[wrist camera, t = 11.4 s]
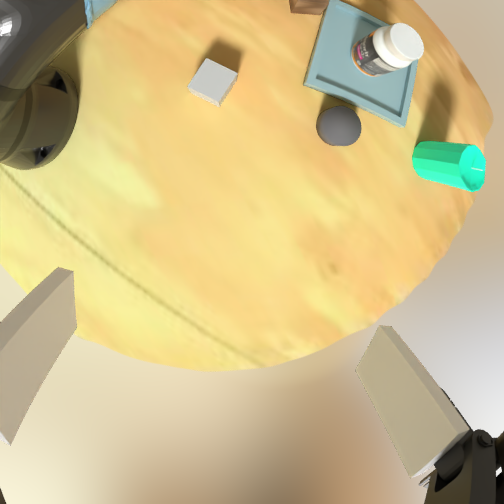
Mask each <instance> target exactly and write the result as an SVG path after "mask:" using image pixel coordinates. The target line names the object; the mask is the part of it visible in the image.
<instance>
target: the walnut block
mask: <svg viewBox="0 0 504 504" xmlns="http://www.w3.org/2000/svg"><path fill="white" fill-rule="evenodd" d="M289 3H290V9H291V13H299V14H312V15H320V14H321V13H322V12H323V11H324V9H325V8H326V7H327V6H328V5H329V2H328V0H289Z"/></svg>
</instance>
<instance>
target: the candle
mask: <svg viewBox="0 0 504 504" xmlns="http://www.w3.org/2000/svg"><path fill="white" fill-rule="evenodd" d="M412 160H413V167H414V169H415V171H416V172H417V174H418V176H420V177H422V178H424V179H427V180H431V181H435V182H439V183H443V184H446V185H450V186H454V187H457V188H461V189H464V190H467V191H471V192H474V191H478V190H479V189H480V188H481V186H482V185H483V184H484V178H485V164H486V160H485V158H484V156H483V154H482V152H481V151H480V149H479V148H478V147H477V146H476V145H470V144H461V143H450V142H437V141H423V142H420V143H419V144H418V145H417V146H416V147H415V148H414V152H413V156H412Z"/></svg>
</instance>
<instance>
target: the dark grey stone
mask: <svg viewBox="0 0 504 504" xmlns="http://www.w3.org/2000/svg"><path fill="white" fill-rule="evenodd" d="M316 129H317V133H318V135H319V136H320V138H321V139H322V140H323V141H324V142H325V143H327V144H329V145H333V146H348V145H351V144H353V143H354V142H356V141H357V139H358V138H359V136H360V133H361V122H360V119H359V117H358V116H357V114H356V113H355V112H354V111H353V110H351V109H350V108H348V107H345V106H336V107H333V108H330V109H327V110H325V111H323V112H322V113H321V114H320V115H319V117H318V119H317V122H316Z"/></svg>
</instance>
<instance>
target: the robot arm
mask: <svg viewBox="0 0 504 504" xmlns="http://www.w3.org/2000/svg"><path fill="white" fill-rule="evenodd" d="M117 1H118V0H0V163H2V164H5V165H8V166H10V167H13V168H16V169H20V170H29V169H34V168H39V167H42V166H44V165H46V164H48V163H49V162H51V161H52V160H53V159H55V158H56V157H57V156H58V154H59V153H60V152H61V151H62V150H63V148H64V147H65V145H66V144H67V142H68V140H69V138H70V136H71V134H72V131H73V128H74V125H75V122H76V117H77V110H78V97H77V91H76V88H75V85H74V83H73V81H72V79H71V78H70V77H69V75H68V74H66V73H65V72H64V71H62V70H60V69H57V68H54V67H51V66H48V65H49V64H50V63H51V62H52V61H53V60H54V59H55V58H56V57H57V56H58V55H59V54H60V53H61V52H62V51H63V50H64V49H65V48H66V47H67V46H68V45H69V44H70V43H71V42H72V41H73V40H74V39H75V38H76V37H78V36H79V35H80V34H81V33H82V32H83V31H84V30H85V29H89V28H90V27H91V26H92V23H93V22H94V21H95V20H96V19H97V18H98V17H100V16H101V15H102V14H103V13H104V12H105V11H107V10H108V9H109V8H110V7H111V6H113V5H114V4H115V3H116V2H117ZM76 328H77V322H76V311H75V297H74V273H73V271H70V270H67V269H63V268H59V267H58V268H57V269H55V270H54V271H53V272H52V273H51V274H50V275H49V276H48V277H46V278H45V279H44V280H43V281H42V282H41V283H40V284H39V285H38V286H37V287H36V288H35V289H33V290H32V291H31V292H30V293H29V294H28V295H27V296H26V297H25V298H24V299H23V300H22V301H21V302H20V303H19V304H18V305H17V306H16V307H15V308H14V309H13V310H12V311H11V312H10V313H9V314H8V315H7V316H6V317H5V318H4V319H3V320H2V322H0V440H2V441H3V442H5V443H7V444H8V445H10V446H11V443H12V441H13V439H14V437H15V435H16V433H17V431H18V429H19V427H20V425H21V422H22V420H23V418H24V417H25V414H26V413H27V411H28V409H29V407H30V405H31V403H32V401H33V399H34V397H35V396H36V394H37V392H38V390H39V388H40V387H41V385H42V383H43V381H44V380H45V378H46V376H47V375H48V373H49V371H50V369H51V368H52V366H53V364H54V363H55V361H56V360H57V358H58V356H59V354H60V353H61V351H62V350H63V348H64V347H65V345H66V343H67V342H68V340H69V339H70V337H71V336H72V334H73V333H74V331H75V330H76ZM355 371H356V373H357V375H358V377H359V379H360V380H361V382H362V384H363V386H364V388H365V390H366V392H367V394H368V395H369V397H370V399H371V401H372V403H373V405H374V407H375V409H376V411H377V413H378V415H379V417H380V419H381V421H382V422H383V424H384V426H385V428H386V430H387V432H388V434H389V436H390V438H391V440H392V442H393V444H394V446H395V448H396V450H397V452H398V454H399V456H400V458H401V460H402V462H403V464H404V466H405V469H406V470H407V473H408V475H409V477H410V478H412V477H415V476H418V475H421V474H423V473H425V472H426V471H427V470H428V469H429V468H430V467H432V466H433V465H434V466H435V468H436V469H435V470H434V471H433V472H431V473H430V474H429V475H428V476H427V477H425V478H424V479H423V480H422V481H421V482H420V484H419V486H421V485H423V484H424V483H425V482H426V481H428V480H430V481H429V482H428V483H427V484H425V485H424V487H426V488H428V490H427V494H426V499H425V503H424V504H504V432H503V433H502V434H501V435H500V436H499V437H498V438H492V437H491V436H490V435H489V434H488V433H487V432H485V431H484V430H479V429H478V430H475V431H473V430H472V429H471V427H470V426H469V425H468V423H467V422H466V420H465V419H464V417H463V416H462V415H461V413H460V412H459V410H458V409H457V408H456V407H455V405H454V404H453V402H452V401H450V398H449V397H448V395H447V394H446V393H445V391H444V390H443V389H441V388H440V387H439V386H438V385H437V383H436V382H435V380H434V379H433V378H432V376H431V375H430V374H429V373H428V371H427V370H426V369H425V367H424V366H423V365H422V364H421V362H420V361H419V360H418V359H417V357H416V356H415V355H414V353H413V352H412V351H411V350H410V348H409V347H408V346H407V345H406V343H405V342H404V341H403V340H402V339H401V337H400V336H399V335H398V334H397V333H396V331H395V330H394V329H393V328H392V326H381V325H380V326H379V327H378V329H377V331H376V333H375V335H374V337H373V339H372V341H371V342H370V344H369V346H368V348H367V350H366V352H365V354H364V355H363V357H362V359H361V361H360V362H359V364H358V366H357V368H356V370H355ZM500 467H501V468H502V472H501V473H500V474H499V475H498V476H497V477H496V470H497V469H499V468H500ZM0 504H6V502H5V499H4V497H3V494H2V491H1V489H0Z"/></svg>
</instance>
